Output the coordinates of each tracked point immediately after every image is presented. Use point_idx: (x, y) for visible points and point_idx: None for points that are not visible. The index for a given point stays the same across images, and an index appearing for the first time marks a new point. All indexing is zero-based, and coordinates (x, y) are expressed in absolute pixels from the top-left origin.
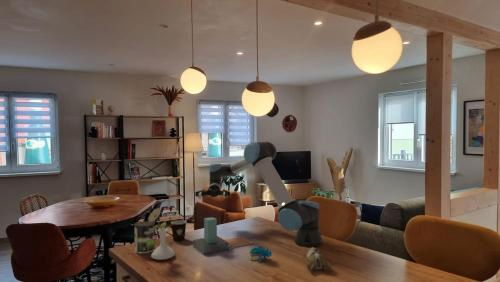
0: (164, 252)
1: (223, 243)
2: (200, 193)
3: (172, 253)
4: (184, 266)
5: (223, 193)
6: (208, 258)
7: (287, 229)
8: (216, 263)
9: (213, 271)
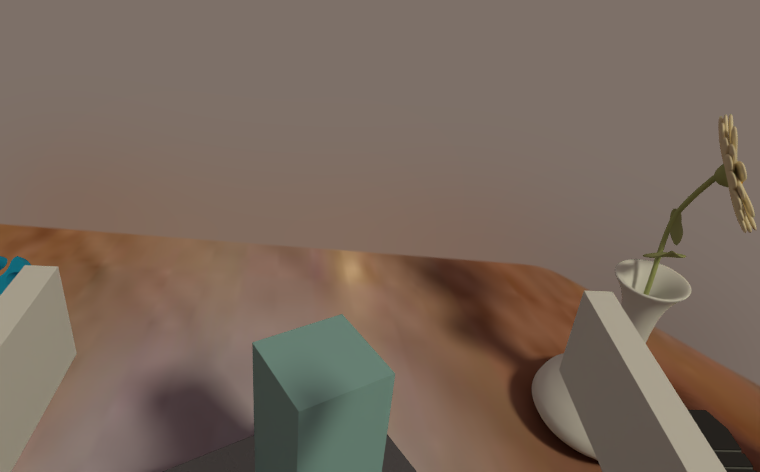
0: None
1: (203, 456)
2: (617, 346)
3: (540, 378)
4: (430, 323)
5: (29, 298)
6: None
7: None
8: None
9: (288, 278)
